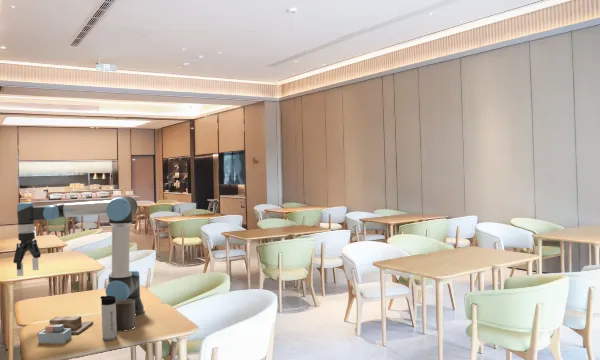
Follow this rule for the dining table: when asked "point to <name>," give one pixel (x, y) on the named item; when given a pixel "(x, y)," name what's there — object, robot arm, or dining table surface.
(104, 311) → the travel mug
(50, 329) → the terracotta block
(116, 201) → the robot arm
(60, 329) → the metal block
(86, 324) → the dock
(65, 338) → the blue-grey open box
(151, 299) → the dining table surface
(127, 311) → the pillar candle
